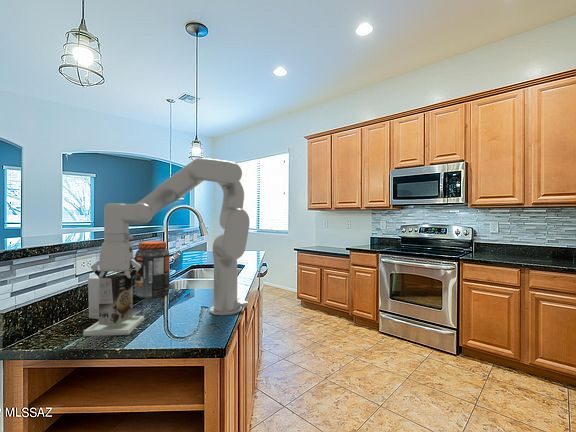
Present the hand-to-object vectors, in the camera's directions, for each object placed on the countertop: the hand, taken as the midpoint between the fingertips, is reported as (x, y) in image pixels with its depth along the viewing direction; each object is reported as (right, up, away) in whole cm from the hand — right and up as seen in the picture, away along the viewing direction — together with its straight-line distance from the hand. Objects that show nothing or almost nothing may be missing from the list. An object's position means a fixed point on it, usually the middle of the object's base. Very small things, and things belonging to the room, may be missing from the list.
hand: (116, 288), depth 108 cm
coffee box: (0, -12, 0) cm, 12 cm away
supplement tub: (-7, -14, +45) cm, 47 cm away
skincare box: (-11, -14, +11) cm, 21 cm away
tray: (0, -14, 0) cm, 14 cm away
